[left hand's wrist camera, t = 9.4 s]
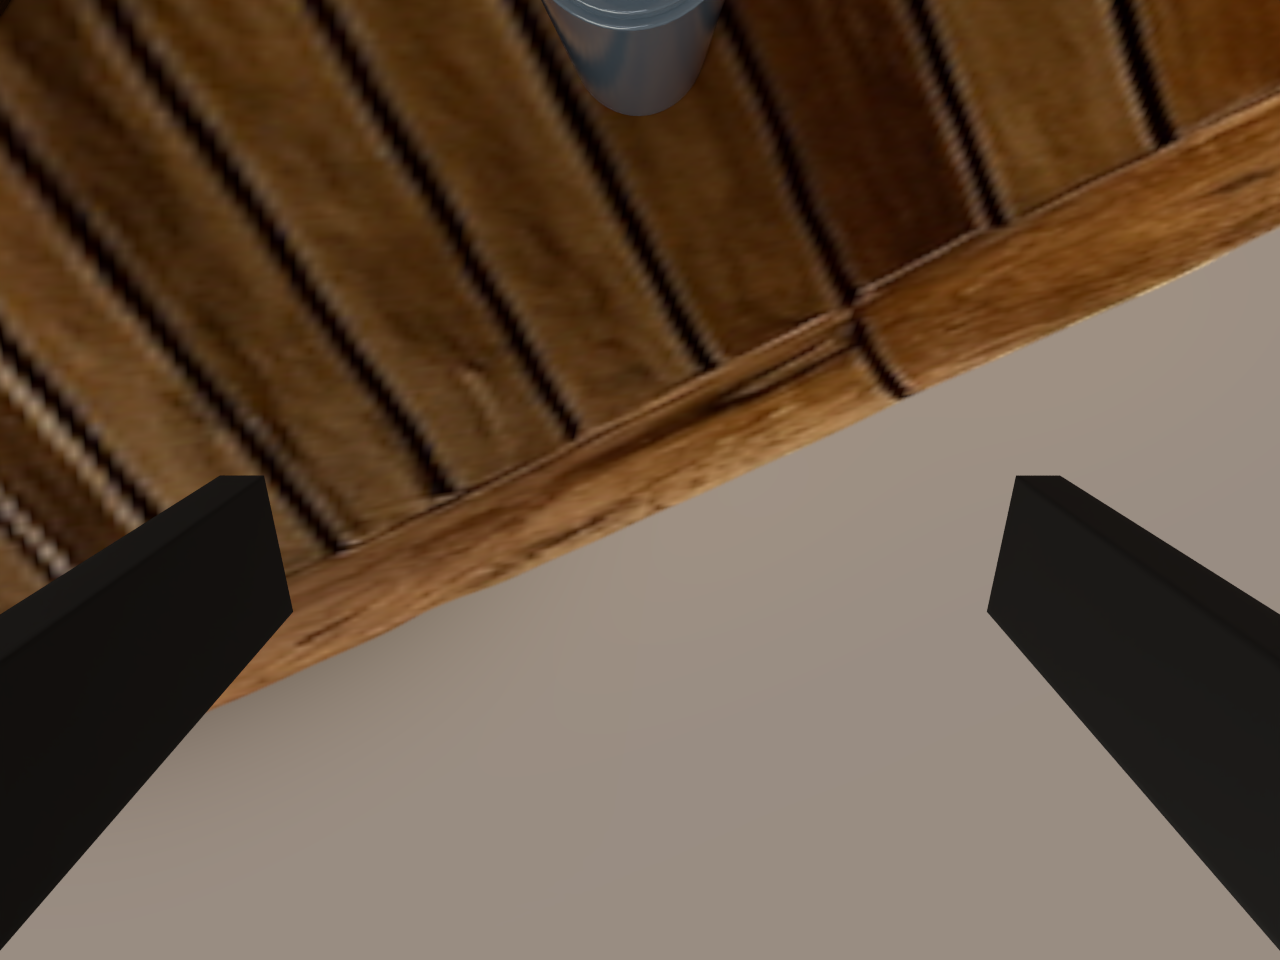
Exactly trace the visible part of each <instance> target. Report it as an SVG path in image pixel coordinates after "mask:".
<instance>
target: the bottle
mask: <svg viewBox="0 0 1280 960" xmlns="http://www.w3.org/2000/svg"><path fill="white" fill-rule="evenodd" d="M541 1H542V3H543V5H544V7H545V9H546V11H547V13H548V15H549V17H550V19H551V21H552V23H553V25H554V27H555V29H556V31H557V33H558V35H559V38H560V40H561V42H562V44H563V46H564V48H565V50H566V52H567V54H568V56H569V58H570V60H571V62H572V64H573V66H574V68H575V70H576V72H577V74H578V76H579V78H580V80H581V82H582V83H583V85H584V86H585V88H586V89H587V90H588V91H589V93H590V94H591V95H592V96H593V97H594V98H595V99H596V100H598V101H599V102H600V103H601V104H603V105H604V106H606V107H607V108H609V109H611V110H613V111H616V112H619V113H622V114H626V115H632V116H644V115H651V114H655V113H658V112H661V111H663V110H665V109H667V108H669V107H671V106H672V105H674V104H675V103H676V102H678V101H679V100H680V99H681V98H682V97H683V96H684V95H685V94H686V93H687V92H688V91H689V90H690V88H691V87H692V86H693V84H694V83H695V81H696V79H697V77H698V76H699V74H700V71H701V69H702V66H703V64H704V61H705V58H706V55H707V52H708V49H709V46H710V43H711V40H712V37H713V34H714V31H715V28H716V25H717V22H718V19H719V16H720V13H721V10H722V7H723V4H724V1H725V0H541Z"/></svg>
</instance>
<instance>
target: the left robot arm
mask: <svg viewBox="0 0 1280 960" xmlns="http://www.w3.org/2000/svg"><path fill="white" fill-rule="evenodd" d="M9 2H10V0H0V15H1V14H2V13H3V11H4V10H5V8H6V7H7V5H8V3H9ZM292 612H293V609H292V604H291V600H290V595H289V590H288V586H287V581H286V576H285V572H284V567H283V562H282V558H281V553H280V548H279V544H278V539H277V534H276V530H275V525H274V520H273V516H272V511H271V506H270V502H269V497H268V492H267V488H266V483H265V479H264V476H219V477H217V478H215V479H214V480H212V481H211V482H209V483H208V484H206V485H204V486H203V487H201V488H200V489H198V490H196V491H195V492H193V493H192V494H190V495H189V496H187V497H185V498H184V499H182V500H181V501H179V502H177V503H176V504H174V505H173V506H171V507H170V508H168V509H166V510H165V511H163V512H162V513H160V514H159V515H157V516H155V517H154V518H152V519H151V520H149V521H147V522H146V523H144V524H143V525H141V526H140V527H138V528H136V529H135V530H133V531H132V532H130V533H128V534H127V535H125V536H124V537H122V538H121V539H119V540H117V541H116V542H114V543H113V544H111V545H109V546H108V547H106V548H105V549H103V550H102V551H100V552H98V553H97V554H95V555H94V556H92V557H90V558H89V559H87V560H86V561H84V562H83V563H81V564H79V565H78V566H76V567H75V568H73V569H71V570H70V571H68V572H67V573H65V574H64V575H62V576H60V577H59V578H57V579H56V580H54V581H52V582H51V583H49V584H48V585H46V586H45V587H43V588H41V589H40V590H38V591H37V592H35V593H33V594H32V595H30V596H29V597H27V598H26V599H24V600H22V601H21V602H19V603H18V604H16V605H14V606H13V607H11V608H10V609H8V610H7V611H5V612H3V613H2V614H0V950H1V949H2V948H3V947H4V945H5V944H6V943H7V942H8V941H9V940H10V939H11V937H12V936H13V935H14V934H15V933H16V932H17V930H18V929H19V928H20V927H21V926H22V925H23V923H24V922H25V921H26V920H27V919H28V918H29V917H30V915H31V914H32V913H33V912H34V911H35V910H36V908H37V907H38V906H39V905H40V904H41V903H42V902H43V900H44V899H45V898H46V897H47V896H48V895H49V893H50V892H51V891H52V890H53V889H54V888H55V886H56V885H57V884H58V883H59V882H60V881H61V880H62V878H63V877H64V876H65V875H66V874H67V873H68V871H69V870H70V869H71V868H72V867H73V866H74V865H75V863H76V862H77V861H78V860H79V859H80V858H81V856H82V855H83V854H84V853H85V852H86V851H87V849H88V848H89V847H90V846H91V845H92V844H93V843H94V841H95V840H96V839H97V838H98V837H99V836H100V834H101V833H102V832H103V831H104V830H105V829H106V827H107V826H108V825H109V824H110V823H111V822H112V821H113V819H114V818H115V817H116V816H117V815H118V814H119V812H120V811H121V810H122V809H123V808H124V807H125V806H126V804H127V803H128V802H129V801H130V800H131V799H132V797H133V796H134V795H135V794H136V793H137V792H138V790H139V789H140V788H141V787H142V786H143V785H144V784H145V782H146V781H147V780H148V779H149V778H150V777H151V775H152V774H153V773H154V772H155V771H156V770H157V768H158V767H159V766H160V765H161V764H162V763H163V762H164V760H165V759H166V758H167V757H168V756H169V755H170V753H171V752H172V751H173V750H174V749H175V748H176V747H177V745H178V744H179V743H180V742H181V741H182V740H183V738H184V737H185V736H186V735H187V734H188V733H189V731H190V730H191V729H192V728H193V727H194V726H195V725H196V723H197V722H198V721H199V720H200V719H201V718H202V716H203V715H204V714H205V713H206V712H207V711H208V709H209V708H210V707H211V706H212V705H213V704H214V703H215V701H216V700H217V699H218V698H219V697H220V696H221V694H222V693H223V692H224V691H225V690H226V689H227V688H228V686H229V685H230V684H231V683H232V682H233V681H234V679H235V678H236V677H237V676H238V675H239V674H240V672H241V671H242V670H243V669H244V668H245V667H246V666H247V664H248V663H249V662H250V661H251V660H252V659H253V657H254V656H255V655H256V654H257V653H258V652H259V650H260V649H261V648H262V647H263V646H264V645H265V644H266V642H267V641H268V640H269V639H270V638H271V637H272V635H273V634H274V633H275V632H276V631H277V630H278V629H279V627H280V626H281V625H282V624H283V623H284V622H285V620H286V619H287V618H288V617H289V616H290V615H291V613H292ZM987 612H988V613H989V615H990V616H991V617H992V618H993V619H994V620H995V622H996V623H997V624H998V625H999V626H1000V627H1001V629H1002V630H1003V631H1004V632H1005V633H1006V634H1007V635H1008V637H1009V638H1010V639H1011V640H1012V641H1013V642H1014V644H1015V645H1016V646H1017V647H1018V648H1019V649H1020V650H1021V652H1022V653H1023V654H1024V655H1025V656H1026V657H1027V659H1028V660H1029V661H1030V662H1031V663H1032V664H1033V666H1034V667H1035V668H1036V669H1037V670H1038V671H1039V672H1040V674H1041V675H1042V676H1043V677H1044V678H1045V679H1046V681H1047V682H1048V683H1049V684H1050V685H1051V686H1052V687H1053V689H1054V690H1055V691H1056V692H1057V693H1058V694H1059V696H1060V697H1061V698H1062V699H1063V700H1064V701H1065V703H1066V704H1067V705H1068V706H1069V707H1070V708H1071V709H1072V711H1073V712H1074V713H1075V714H1076V715H1077V716H1078V718H1079V719H1080V720H1081V721H1082V722H1083V723H1084V725H1085V726H1086V727H1087V728H1088V729H1089V730H1090V731H1091V733H1092V734H1093V735H1094V736H1095V737H1096V738H1097V739H1098V741H1099V742H1100V743H1101V744H1102V745H1103V747H1104V748H1105V749H1106V750H1107V751H1108V752H1109V753H1110V755H1111V756H1112V757H1113V758H1114V759H1115V760H1116V761H1117V763H1118V764H1119V765H1120V766H1121V767H1122V768H1123V770H1124V771H1125V772H1126V773H1127V774H1128V775H1129V777H1130V778H1131V779H1132V780H1133V781H1134V782H1135V784H1136V785H1137V786H1138V787H1139V788H1140V789H1141V790H1142V792H1143V793H1144V794H1145V795H1146V796H1147V797H1148V799H1149V800H1150V801H1151V802H1152V803H1153V804H1154V805H1155V807H1156V808H1157V809H1158V810H1159V811H1160V812H1161V814H1162V815H1163V816H1164V817H1165V818H1166V819H1167V821H1168V822H1169V823H1170V824H1171V825H1172V826H1173V827H1174V829H1175V830H1176V831H1177V832H1178V833H1179V834H1180V836H1181V837H1182V838H1183V839H1184V840H1185V841H1186V843H1187V844H1188V845H1189V846H1190V847H1191V848H1192V849H1193V851H1194V852H1195V853H1196V854H1197V855H1198V856H1199V858H1200V859H1201V860H1202V861H1203V862H1204V863H1205V865H1206V866H1207V867H1208V868H1209V869H1210V870H1211V871H1212V873H1213V874H1214V875H1215V876H1216V877H1217V878H1218V880H1219V881H1220V882H1221V883H1222V884H1223V885H1224V886H1225V888H1226V889H1227V890H1228V891H1229V892H1230V893H1231V895H1232V896H1233V897H1234V898H1235V899H1236V900H1237V902H1238V903H1239V904H1240V905H1241V906H1242V907H1243V908H1244V910H1245V911H1246V912H1247V913H1248V914H1249V915H1250V917H1251V918H1252V919H1253V920H1254V921H1255V922H1256V924H1257V925H1258V926H1259V927H1260V928H1261V929H1262V930H1263V932H1264V933H1265V934H1266V935H1267V936H1268V937H1269V939H1270V940H1271V941H1272V942H1273V943H1274V944H1275V945H1276V947H1277V948H1278V949H1279V950H1280V614H1278V613H1277V612H1275V611H1273V610H1272V609H1270V608H1269V607H1267V606H1266V605H1264V604H1262V603H1261V602H1259V601H1258V600H1256V599H1254V598H1253V597H1251V596H1250V595H1248V594H1247V593H1245V592H1243V591H1242V590H1240V589H1239V588H1237V587H1235V586H1234V585H1232V584H1231V583H1229V582H1228V581H1226V580H1224V579H1223V578H1221V577H1220V576H1218V575H1216V574H1215V573H1213V572H1212V571H1210V570H1208V569H1207V568H1205V567H1204V566H1202V565H1201V564H1199V563H1197V562H1196V561H1194V560H1193V559H1191V558H1190V557H1188V556H1186V555H1185V554H1183V553H1182V552H1180V551H1178V550H1177V549H1175V548H1174V547H1172V546H1171V545H1169V544H1167V543H1166V542H1164V541H1163V540H1161V539H1159V538H1158V537H1156V536H1155V535H1153V534H1152V533H1150V532H1148V531H1147V530H1145V529H1144V528H1142V527H1140V526H1139V525H1137V524H1136V523H1134V522H1133V521H1131V520H1129V519H1128V518H1126V517H1125V516H1123V515H1121V514H1120V513H1118V512H1117V511H1115V510H1114V509H1112V508H1110V507H1109V506H1107V505H1106V504H1104V503H1102V502H1101V501H1099V500H1098V499H1096V498H1095V497H1093V496H1091V495H1090V494H1088V493H1087V492H1085V491H1083V490H1082V489H1080V488H1079V487H1077V486H1075V485H1074V484H1072V483H1071V482H1069V481H1068V480H1066V479H1064V478H1063V477H1061V476H1016V479H1015V483H1014V488H1013V492H1012V497H1011V502H1010V506H1009V511H1008V516H1007V520H1006V525H1005V530H1004V534H1003V539H1002V544H1001V549H1000V553H999V558H998V562H997V567H996V572H995V576H994V581H993V586H992V590H991V595H990V600H989V604H988V609H987Z"/></svg>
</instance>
